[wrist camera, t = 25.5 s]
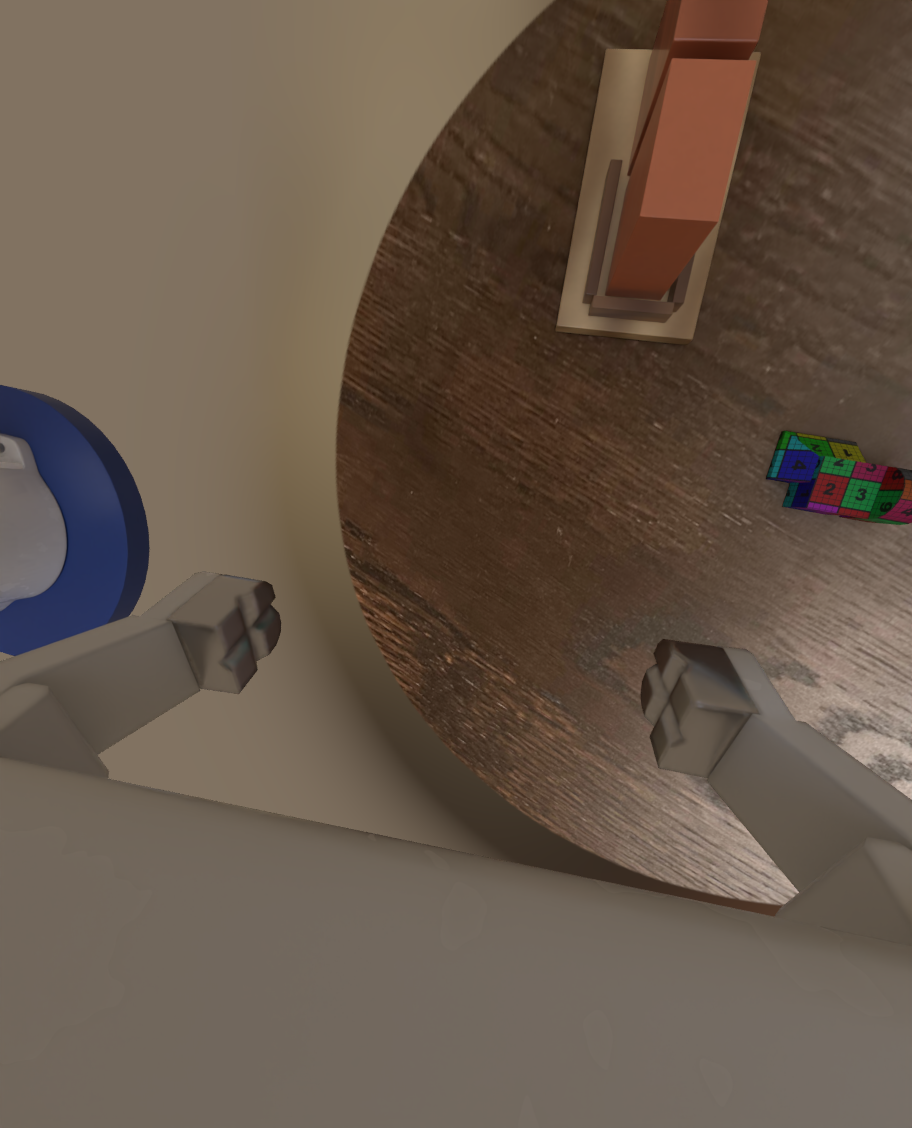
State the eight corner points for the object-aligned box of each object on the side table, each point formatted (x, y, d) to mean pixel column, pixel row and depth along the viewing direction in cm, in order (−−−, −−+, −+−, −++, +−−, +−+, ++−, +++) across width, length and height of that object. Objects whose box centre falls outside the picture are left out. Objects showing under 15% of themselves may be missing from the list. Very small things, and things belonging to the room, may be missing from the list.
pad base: (554, 331, 33) (571, 260, 23) (602, 65, 29) (646, -155, 19) (686, 345, 31) (764, 276, 21) (751, 69, 28) (880, -164, 18)
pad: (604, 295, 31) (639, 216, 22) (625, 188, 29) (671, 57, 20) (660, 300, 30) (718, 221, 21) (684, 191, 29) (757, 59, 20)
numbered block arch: (895, 450, 30) (959, 443, 26) (867, 522, 32) (924, 526, 27) (781, 431, 31) (824, 421, 27) (758, 502, 32) (796, 503, 28)
